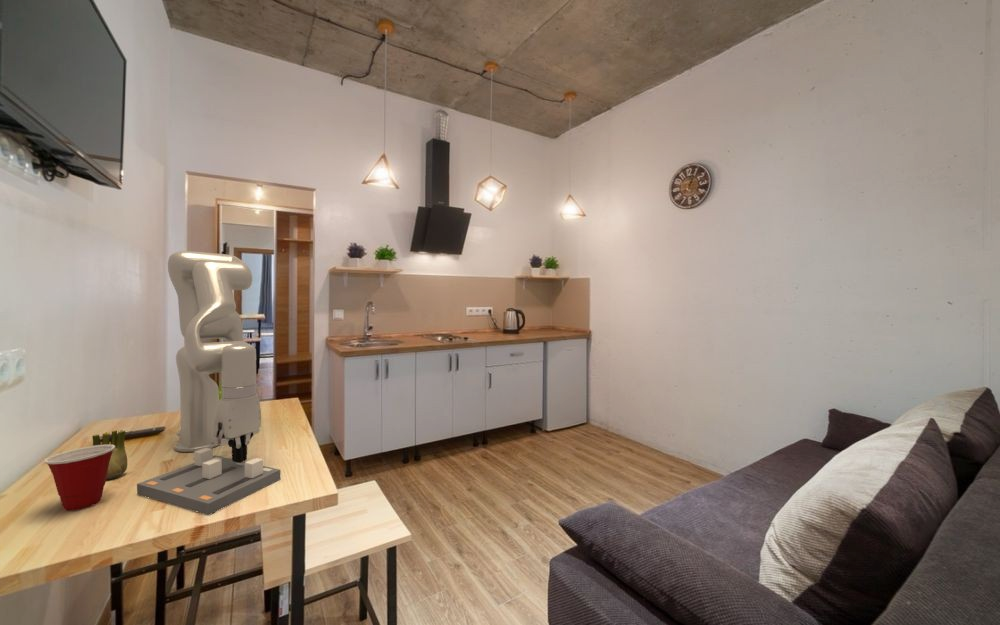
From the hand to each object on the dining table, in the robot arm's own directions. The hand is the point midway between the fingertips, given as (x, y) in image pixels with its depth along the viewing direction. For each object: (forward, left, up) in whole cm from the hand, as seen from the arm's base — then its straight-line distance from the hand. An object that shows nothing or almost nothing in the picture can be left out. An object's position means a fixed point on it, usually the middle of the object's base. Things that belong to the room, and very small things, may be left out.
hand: (239, 460), depth 103 cm
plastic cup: (-18, -23, -4) cm, 29 cm away
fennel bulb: (-28, -13, -4) cm, 31 cm away
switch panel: (0, -7, -4) cm, 8 cm away
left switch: (-9, -3, -1) cm, 10 cm away
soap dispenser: (-38, +24, -4) cm, 45 cm away
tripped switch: (0, -7, -1) cm, 7 cm away
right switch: (+9, -3, -1) cm, 9 cm away
